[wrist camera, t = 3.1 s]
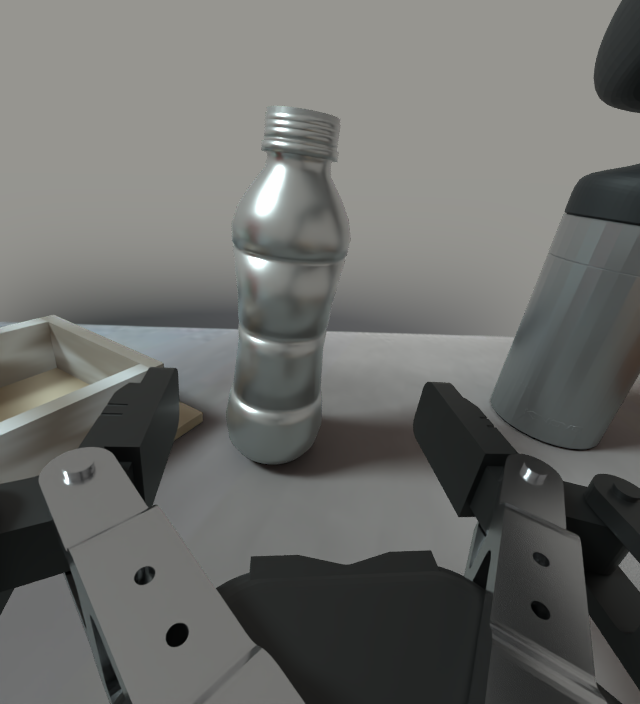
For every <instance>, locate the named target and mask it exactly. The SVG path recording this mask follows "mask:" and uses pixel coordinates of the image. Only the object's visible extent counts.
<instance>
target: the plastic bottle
mask: <svg viewBox="0 0 640 704" xmlns="http://www.w3.org/2000/svg"><path fill="white" fill-rule="evenodd" d="M339 131H340V119H339V118H337V117H335V116H332V115H329V114H326V113H321V112H317V111H313V110H307V109H301V108H294V107H285V106H270V107H267V112H266V117H265V133H264V140H262V147H261V150H262V151H266V152H267V160H266V165H265V167H264V169H263V170H262V171H261V172H260V174H259V175H258V176H257V177H256V179H255V180H254V181H253V183H252V184H251V185H250V186H249V188H248V189H247V191H246V192H245V194H244V196H243V197H242V199H241V200H240V202H239V204H238V205H237V207H236V211H235V214H234V217H233V221H232V241H233V243H234V246H233V252H234V260H235V270H236V278H237V288H238V318H239V320H240V322H239V342H238V350H237V358H236V366H235V374H234V382H233V384H232V387H231V390H230V394H229V399H228V405H227V410H226V421H227V426H228V432H229V437H230V439H231V441H232V443H233V445H234V446H235V447H236V448H237V449H238V450H239V451H240V452H241V453H242V454H243V455H244V456H246V457H247V458H249V459H251V460H253V461H255V462H259V463H263V464H283V463H287V462H290V461H293V460H295V459H297V458H298V457H300V456H301V455H302V454H303V453H305V452H306V451H307V450H308V449H310V447H311V446H312V445H313V443H314V441H315V439H316V436H317V433H318V431H319V428H320V425H321V422H322V394H321V389H320V388H321V373H322V358H323V346H324V341H325V336H326V328H327V326H328V322H329V317H330V312H331V307H332V302H333V299H334V296H335V293H336V289H337V285H338V282H339V279H340V276H341V273H342V269H343V266H344V262H345V257H346V256H347V252H348V248H349V243H350V228H349V220H348V217H347V214H346V211H345V208H344V205H343V202H342V200H341V198H340V196H339V193H338V191H337V189H336V187H335V185H334V182H333V180H332V178H331V172H330V171H331V170H330V169H331V163H332V162H337V159H338V152H337V145H338V138H339Z"/></svg>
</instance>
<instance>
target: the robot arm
mask: <svg viewBox="0 0 640 704" xmlns="http://www.w3.org/2000/svg"><path fill="white" fill-rule="evenodd" d="M594 84H595V90H596V92H597V94H598V96H599V98H600V99H601V100H602V101H603V102H605V103H606V104H607V105H609V106H612V107H614V108H618V109H621V110H626V111H630V112H637V113H640V0H622V1H621V3H620V5H619V7H618V8H617V11H616V12H615V14H614V16H613V18H612V20H611V22H610V24H609V26H608V28H607V31H606V33H605V35H604V37H603V40H602V43H601V45H600V48H599V51H598V55H597V58H596V63H595V70H594ZM565 212H566V213H567V214H564V215H563V217H562V219H561V222H560V225H559V227H558V229H557V232H556V235H555V237H554V240H553V242H552V245H551V247H550V250H549V253H548V255H547V258H546V261H545V263H544V265H543V268H542V270H541V273H540V276H539V278H538V281H537V283H536V286H535V288H534V291H533V293H532V295H531V298H530V301H529V303H528V306H527V308H526V311H525V313H524V316H523V318H522V321H521V323H520V326H519V328H518V331H517V333H516V336H515V338H514V341H513V343H512V346H511V348H510V351H509V353H508V356H507V358H506V361H505V363H504V365H503V368H502V370H501V373H500V376H499V378H498V381H497V383H496V386H495V388H494V391H493V393H492V396H491V404H492V406H493V408H494V409H495V411H496V412H497V413H498V414H499V415H500V416H501V417H502V418H503V419H504V420H505V421H507V422H508V423H509V424H510V425H512V426H514V427H515V428H517V429H518V430H520V431H522V432H524V433H526V434H528V435H529V436H531V437H534V438H536V439H539V440H541V441H544V442H546V443H550V444H553V445H556V446H560V447H565V448H571V449H589V448H592V447H594V446H596V445H597V444H598V443H599V442H600V440H601V438H602V437H603V435H604V433H605V432H606V430H607V428H608V426H609V425H610V423H611V421H612V420H613V418H614V416H615V414H616V413H617V411H618V409H619V408H620V406H621V405H622V403H623V401H624V400H625V398H626V396H627V394H628V393H629V391H630V389H631V387H632V386H633V384H634V382H635V381H636V379H637V377H638V375H639V374H640V164H636V165H632V166H627V167H622V168H616V169H610V170H604V171H600V172H595V173H591V174H589V175H586V176H584V177H583V178H581V179H580V180H579V181H578V183H577V184H576V186H575V187H574V190H573V191H572V193H571V196H570V199H569V201H568V204H567V206H566V209H565ZM178 424H179V384H178V371H177V369H176V368H162V367H150V368H149V369H148V371H147V372H146V374H145V376H144V378H143V379H142V381H141V383H130V382H129V383H128V384H126V385H125V386H123V387H122V388H120V389H119V390H117V391H116V392H115V393H114V394H113V396H112V397H111V399H110V400H109V402H108V403H107V406H105V408H104V409H103V411H102V412H101V415H99V417H98V418H97V420H96V421H95V423H94V424H93V426H92V427H91V429H90V430H89V432H88V433H87V435H86V436H85V438H84V440H83V441H82V443H81V444H80V446H79V447H78V449H74V450H71V451H68V452H66V453H63V454H61V455H59V456H57V457H56V458H54V459H53V460H51V461H50V462H49V463H48V464H47V465H46V466H45V467H44V468H43V469H42V471H41V472H40V475H38V476H35V477H31V478H27V479H22V480H17V481H12V482H7V483H2V484H0V615H1V613H2V611H3V609H4V607H5V605H6V603H7V601H8V599H9V598H10V596H11V594H12V592H13V590H14V588H16V587H19V586H22V585H26V584H29V583H32V582H35V581H39V580H42V579H45V578H48V577H51V576H55V575H58V574H61V573H63V574H64V577H65V580H66V582H67V585H68V588H69V590H70V593H71V596H72V598H73V601H74V604H75V606H76V609H77V612H78V614H79V617H80V620H81V622H82V625H83V628H84V630H85V633H86V636H87V638H88V641H89V644H90V647H91V650H92V653H93V657H94V660H95V663H96V666H97V669H98V672H99V675H100V678H101V681H102V684H103V686H104V689H105V692H106V695H107V697H108V700H109V703H110V704H622V703H621V702H619V701H618V700H617V699H616V698H615V697H613V696H612V695H611V694H610V693H609V692H607V691H606V690H605V689H604V688H602V687H601V686H600V685H599V684H598V683H596V680H595V672H594V662H593V653H592V643H591V634H590V624H589V615H590V617H591V618H592V620H593V621H594V623H595V624H596V626H597V627H598V629H599V630H600V632H601V633H602V635H603V636H604V638H605V639H606V641H607V642H608V644H609V645H610V647H611V648H612V650H613V651H614V653H615V654H616V656H617V657H618V659H619V660H620V662H621V663H622V665H623V666H624V668H625V669H626V671H627V672H628V674H629V675H630V677H631V678H632V680H633V681H634V683H635V684H636V686H637V687H638V689H639V690H640V592H639V591H638V590H637V588H636V587H635V586H634V585H633V583H632V582H631V581H630V580H629V579H628V577H627V576H626V575H625V574H624V572H623V571H622V570H621V569H620V568H619V566H618V565H619V564H620V563H621V561H622V560H623V559H624V557H625V556H626V555H627V553H628V552H630V553H631V554H632V555H633V556H634V557H635V558H636V560H637V561H638V562H639V563H640V488H638V487H637V486H635V485H634V484H632V483H630V482H628V481H626V480H624V479H622V478H619V477H616V476H613V475H609V474H598V475H595V476H594V478H593V479H592V481H591V482H590V484H589V486H588V487H585V486H581V485H577V484H573V483H569V482H564V481H563V480H562V478H561V477H560V475H559V474H558V473H557V472H556V471H555V470H554V469H553V468H552V467H551V466H549V465H548V464H546V463H545V462H543V461H541V460H539V459H537V458H535V457H532V456H529V455H525V454H518V453H517V451H516V450H515V449H514V448H513V447H512V446H511V445H510V443H509V442H508V441H507V440H506V439H505V438H504V437H503V435H502V434H501V433H500V432H499V431H498V430H497V428H494V425H493V424H492V423H491V422H490V420H489V419H487V417H486V416H485V415H484V414H483V412H482V411H481V410H480V409H479V408H478V407H477V406H476V405H474V404H473V403H471V402H470V401H468V400H467V399H465V398H463V397H462V396H461V395H460V393H459V392H458V391H457V390H456V389H455V387H454V386H453V385H452V384H451V383H443V382H427V383H426V384H425V385H424V388H423V391H422V394H421V397H420V401H419V404H418V407H417V411H416V414H415V418H414V422H413V430H414V435H415V438H416V440H417V442H418V443H419V445H420V447H421V449H422V451H423V453H424V454H425V456H426V458H427V460H428V462H429V464H430V465H431V467H432V469H433V471H434V473H435V475H436V476H437V478H438V480H439V482H440V484H441V486H442V487H443V489H444V491H445V493H446V495H447V497H448V498H449V500H450V502H451V504H452V506H453V508H454V509H455V511H456V513H457V515H458V517H476V518H477V520H478V522H477V524H476V527H475V529H474V533H473V537H472V542H471V546H470V551H469V555H468V560H467V564H466V569H465V573H464V576H462V575H460V574H458V573H455V572H453V571H451V570H448V569H445V568H442V567H438V566H437V564H436V561H435V559H434V557H433V554H432V552H431V551H402V552H388V553H385V554H382V555H378V556H375V557H372V558H369V559H366V560H363V561H360V562H357V563H354V564H350V565H343V564H338V563H333V562H329V561H324V560H319V559H315V558H310V557H305V556H300V555H284V556H254V557H251V563H250V573H247V574H244V575H241V576H239V577H236V578H234V579H232V580H230V581H228V582H226V583H224V584H222V585H221V586H219V587H217V588H215V586H214V585H213V584H212V582H211V581H210V579H209V578H208V576H207V575H206V573H205V572H204V570H203V569H202V567H201V566H200V564H199V563H198V562H197V560H196V559H195V557H194V556H193V554H192V553H191V551H190V550H189V548H188V547H187V545H186V544H185V542H184V541H183V539H182V538H181V537H180V535H179V534H178V532H177V531H176V529H175V528H174V526H173V525H172V523H171V522H170V520H169V519H168V517H167V516H166V515H165V513H164V512H163V510H162V509H161V508H160V507H159V506H158V505H153V502H154V499H155V496H156V493H157V490H158V487H159V484H160V481H161V478H162V475H163V472H164V469H165V466H166V463H167V460H168V457H169V454H170V451H171V448H172V445H173V442H174V439H175V436H176V433H177V429H178ZM152 505H153V506H152ZM588 614H589V615H588Z"/></svg>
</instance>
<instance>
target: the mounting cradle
mask: <svg viewBox="0 0 640 704" xmlns="http://www.w3.org/2000/svg"><path fill="white" fill-rule="evenodd" d="M150 367H162V368H164V364H163V363H162V362H160V361H157V360H155V359H153V358H150V357H148V356H146V355H144V354H141V353H139V352H137V351H135V350H132V349H130V348H128V347H125V346H123V345H121V344H119V343H116V342H114V341H112V340H110V339H107V338H105V337H103V336H101V335H98V334H96V333H94V332H91V331H89V330H87V329H85V328H82V327H80V326H78V325H76V324H73V323H71V322H69V321H66V320H64V319H62V318H60V317H57V316H55V315H51V316H47V317H42V318H38V319H34V320H29V321H25V322H21V323H17V324H12V325H8V326H4V327H0V484H2V483H7V482H12V481H17V480H22V479H27V478H31V477H35V476H38V475H40V472H41V471H42V469H43V468H44V467H45V466H46V465H47V464H48V463H49V462H50V461H51V460H53V459H54V458H56V457H57V456H59V455H61V454H63V453H66V452H68V451H71V450H74V449H78V447H79V446H80V444H81V443H82V441H83V440H84V438H85V436H86V435H87V433H88V432H89V430H90V429H91V427H92V426H93V424H94V423H95V421H96V420H97V418H98V417H99V415H101V412H102V411H103V409H104V408H105V406H107V403H108V402H109V400H110V399H111V397H112V396H113V394H114V393H115V392H116V391H117V390H119V389H120V388H122V387H123V386H125V385H126V384H128V383H129V382H130V383H141V381H142V379H143V378H144V376H145V374H146V372H147V371H148V369H149V368H150ZM201 422H203V413H202V412H200V411H198V410H196V409H194V408H192V407H190V406H188V405H186V404H184V403H181V402H179V424H178V429H177V433H176V436H175V439H174V440H176V439H177V438H179V437H180V436H182V435H183V434H185V433H186V432H188V431H189V430H191V429H192V428H194V427H195V426H197V425H198V424H200V423H201Z"/></svg>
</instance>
